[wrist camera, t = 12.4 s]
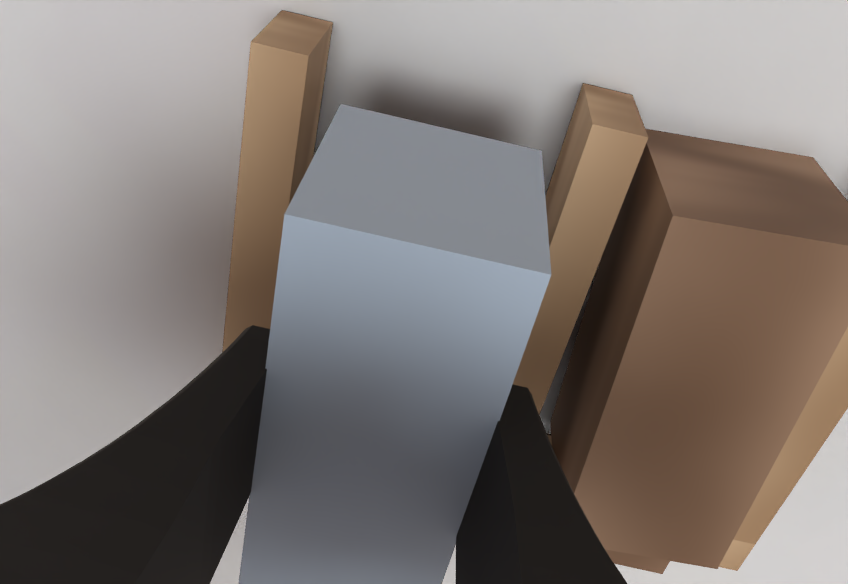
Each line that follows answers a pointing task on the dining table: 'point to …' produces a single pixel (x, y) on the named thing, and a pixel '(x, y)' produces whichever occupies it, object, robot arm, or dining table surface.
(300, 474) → the slate stick
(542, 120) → the dining table surface
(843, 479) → the dining table surface
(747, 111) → the dining table surface
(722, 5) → the dining table surface
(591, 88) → the rack
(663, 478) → the walnut block
